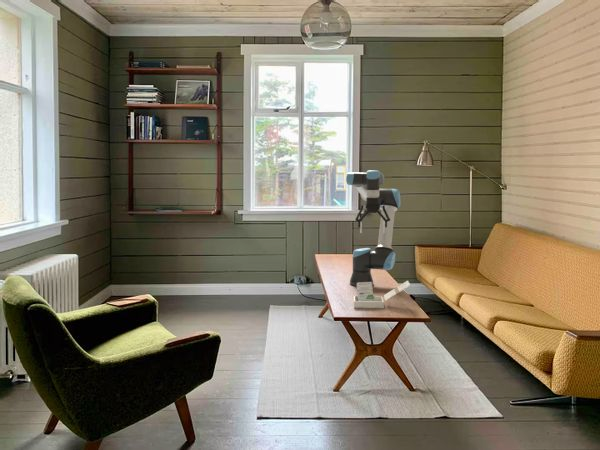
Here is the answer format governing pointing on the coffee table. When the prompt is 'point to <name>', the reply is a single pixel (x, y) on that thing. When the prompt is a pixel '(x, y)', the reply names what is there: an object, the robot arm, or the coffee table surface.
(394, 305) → the coffee table surface
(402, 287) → the lid
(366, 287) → the ink box
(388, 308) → the coffee table surface
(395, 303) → the coffee table surface
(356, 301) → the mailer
